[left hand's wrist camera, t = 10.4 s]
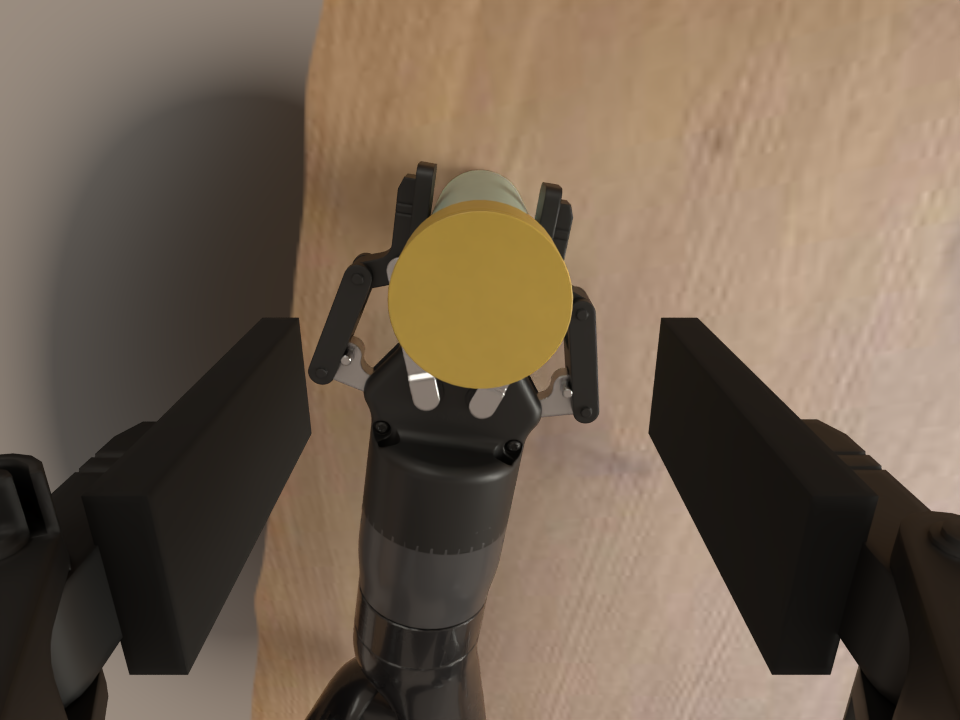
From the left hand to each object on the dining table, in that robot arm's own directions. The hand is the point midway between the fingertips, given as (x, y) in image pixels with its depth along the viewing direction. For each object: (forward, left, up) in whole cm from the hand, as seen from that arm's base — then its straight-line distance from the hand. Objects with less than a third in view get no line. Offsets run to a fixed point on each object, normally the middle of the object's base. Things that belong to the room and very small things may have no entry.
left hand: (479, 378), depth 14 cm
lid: (0, 0, -6) cm, 6 cm away
